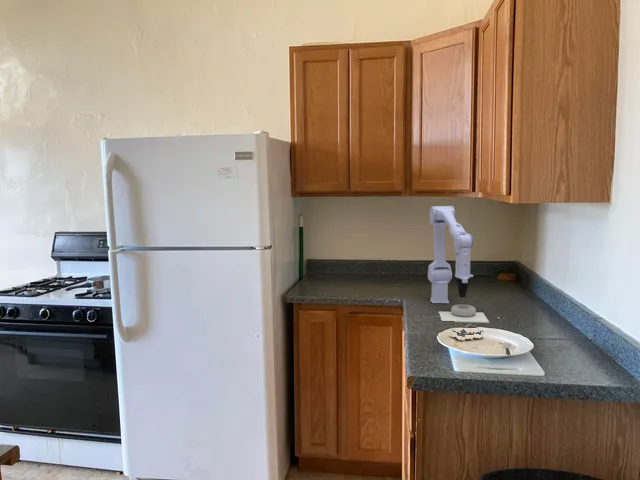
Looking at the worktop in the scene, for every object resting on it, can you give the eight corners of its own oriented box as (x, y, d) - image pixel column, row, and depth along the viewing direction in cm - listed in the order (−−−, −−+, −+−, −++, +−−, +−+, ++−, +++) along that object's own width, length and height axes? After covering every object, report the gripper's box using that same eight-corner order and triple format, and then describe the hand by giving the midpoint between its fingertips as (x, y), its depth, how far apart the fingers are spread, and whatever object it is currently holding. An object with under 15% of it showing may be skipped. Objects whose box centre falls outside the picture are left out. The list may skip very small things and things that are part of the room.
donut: (449, 311, 207) (452, 317, 197) (449, 303, 207) (452, 308, 197) (473, 311, 206) (477, 317, 196) (474, 303, 205) (478, 309, 196)
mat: (438, 312, 207) (438, 311, 207) (482, 313, 204) (482, 312, 204) (441, 321, 193) (441, 320, 193) (489, 322, 190) (489, 321, 190)
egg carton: (473, 333, 178) (473, 322, 178) (485, 339, 171) (486, 328, 171) (447, 336, 175) (447, 325, 175) (458, 342, 168) (459, 331, 168)
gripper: (476, 267, 191) (475, 301, 192) (470, 261, 205) (469, 293, 206) (457, 267, 192) (456, 301, 193) (453, 261, 206) (452, 292, 207)
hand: (462, 296), depth 200 cm, fingers closed
